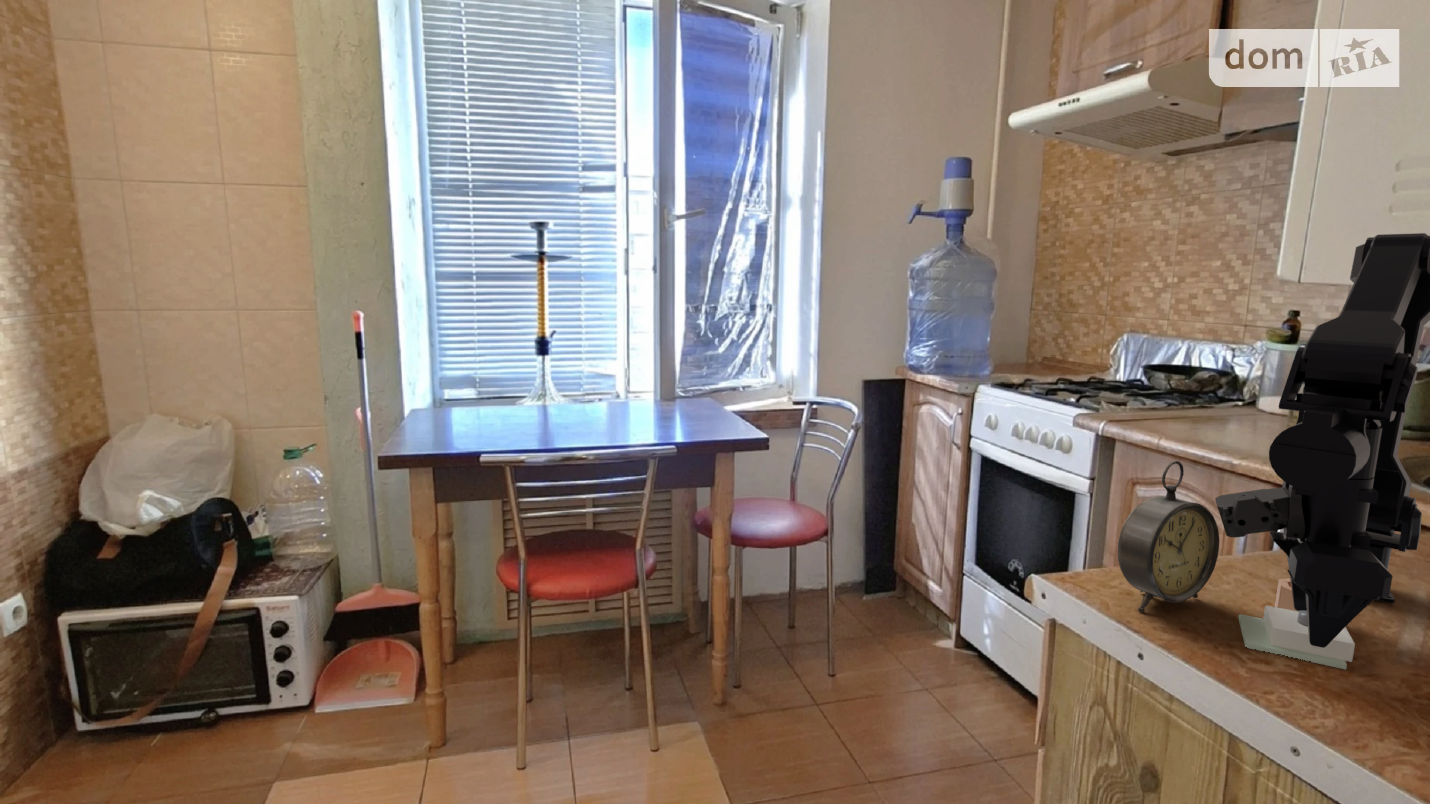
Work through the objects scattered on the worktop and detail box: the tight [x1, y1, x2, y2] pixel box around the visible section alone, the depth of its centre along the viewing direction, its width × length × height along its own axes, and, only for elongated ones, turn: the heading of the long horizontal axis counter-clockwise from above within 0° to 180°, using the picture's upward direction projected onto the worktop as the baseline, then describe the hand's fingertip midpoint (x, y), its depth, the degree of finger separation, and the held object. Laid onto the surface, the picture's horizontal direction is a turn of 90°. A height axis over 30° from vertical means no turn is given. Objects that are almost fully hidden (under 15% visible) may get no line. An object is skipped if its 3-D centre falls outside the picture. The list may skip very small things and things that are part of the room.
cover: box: [1262, 605, 1356, 663], centre depth 69 cm, size 6×6×3 cm
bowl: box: [1274, 577, 1299, 612], centre depth 74 cm, size 5×5×4 cm
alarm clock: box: [1117, 460, 1220, 613], centre depth 77 cm, size 11×5×16 cm, turn 112°
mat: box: [1237, 613, 1348, 670], centre depth 70 cm, size 7×8×1 cm
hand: (1308, 627), depth 69 cm, fingers open, 8 cm apart
